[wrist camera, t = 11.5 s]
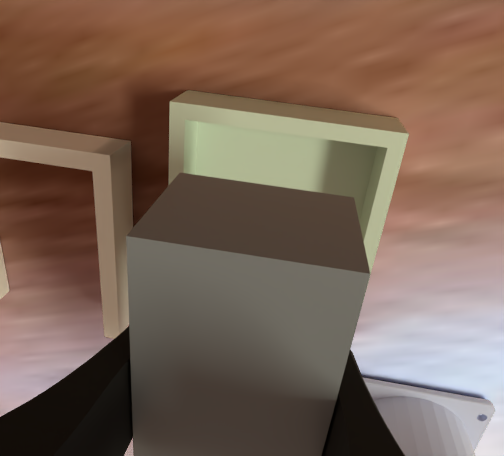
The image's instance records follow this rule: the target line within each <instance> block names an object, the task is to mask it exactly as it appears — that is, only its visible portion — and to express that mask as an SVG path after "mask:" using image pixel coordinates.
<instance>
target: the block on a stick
mask: <svg viewBox="0 0 504 456" xmlns="http://www.w3.org/2000/svg"><path fill="white" fill-rule="evenodd" d="M126 245H127V274H128V304H129V333H130V363H131V392H132V421H133V451H134V456H322V452H323V448H324V444H325V441H326V437H327V433H328V429H329V426H330V422H331V418H332V415H333V411H334V407H335V403H336V400H337V396H338V392H339V389H340V385H341V381H342V377H343V374H344V370H345V366H346V363H347V359H348V355H349V351H350V348H351V344H352V340H353V337H354V333H355V329H356V325H357V322H358V318H359V314H360V311H361V307H362V303H363V299H364V296H365V292H366V288H367V285H368V281H369V277H370V270H369V265H368V260H367V256H366V251H365V246H364V242H363V237H362V232H361V228H360V223H359V218H358V213H357V209H356V204H355V199H354V197H348V196H341V195H334V194H327V193H320V192H313V191H306V190H299V189H292V188H285V187H278V186H271V185H264V184H257V183H250V182H243V181H236V180H229V179H222V178H215V177H208V176H201V175H194V174H187V173H179V174H178V175H177V176H176V178H175V179H174V180H173V181H172V182H171V183H170V185H169V186H168V187H167V188H166V189H165V191H164V192H163V193H162V194H161V195H160V196H159V198H158V199H157V200H156V201H155V202H154V204H153V205H152V206H151V207H150V208H149V210H148V211H147V212H146V213H145V214H144V215H143V217H142V218H141V219H140V220H139V221H138V223H137V224H136V225H135V226H134V227H133V229H132V230H131V231H130V232H129V233H128V234H127V236H126Z"/></svg>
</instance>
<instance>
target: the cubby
mask: <svg viewBox="0 0 504 456" xmlns="http://www.w3.org/2000/svg"><path fill="white" fill-rule="evenodd" d="M0 157H1V158H8V159H15V160H21V161H28V162H35V163H41V164H48V165H55V166H61V167H68V168H75V169H81V170H88V171H92V172H93V186H94V200H95V214H96V228H97V242H98V256H99V270H100V284H101V298H102V312H103V326H104V337H108V338H113V339H115V338H116V337H117V336H118V335H119V334H121V333H122V332H123V331H124V330H125V329H126V328H127V326H128V324H129V304H128V274H127V245H126V236H127V234H128V233H129V232H130V231H131V230H132V229H133V203H132V166H131V141H129V140H122V139H115V138H108V137H101V136H94V135H87V134H80V133H73V132H66V131H59V130H52V129H45V128H38V127H31V126H24V125H17V124H10V123H3V122H0ZM9 291H10V290H9V284H8V279H7V274H6V269H5V263H4V258H3V253H2V248H1V243H0V299H1V298H2V297H4V296H5V295H6V294H7V293H8V292H9Z"/></svg>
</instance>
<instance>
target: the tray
mask: <svg viewBox="0 0 504 456" xmlns="http://www.w3.org/2000/svg"><path fill="white" fill-rule="evenodd" d="M408 135H409V133H408V132H407V130H406V129H405V128H404V126H403V125H402V123H401V122H400V121H399V119H398V118H394V117H387V116H379V115H372V114H364V113H357V112H349V111H342V110H334V109H327V108H319V107H312V106H304V105H297V104H289V103H282V102H274V101H267V100H259V99H252V98H244V97H237V96H229V95H222V94H214V93H207V92H199V91H192V90H187V91H185V92H184V93H182V94H181V95H179V96H177V97H176V98H174V99H173V100H171V101H170V111H169V180H168V186H169V185H170V183H171V182H172V181H173V180H174V179H175V178H176V176H177V175H178V174H179V173H187V174H194V175H201V176H208V177H215V178H222V179H229V180H236V181H243V182H250V183H257V184H264V185H271V186H278V187H285V188H292V189H299V190H306V191H313V192H320V193H327V194H334V195H341V196H348V197H354V199H355V204H356V209H357V213H358V218H359V223H360V228H361V232H362V237H363V242H364V246H365V251H366V256H367V260H368V265H369V270H370V274H371V270H372V267H373V263H374V259H375V256H376V252H377V248H378V245H379V241H380V238H381V234H382V230H383V227H384V223H385V219H386V216H387V212H388V208H389V205H390V201H391V197H392V194H393V190H394V186H395V183H396V179H397V176H398V172H399V168H400V165H401V161H402V157H403V154H404V150H405V146H406V143H407V139H408ZM369 278H370V277H369ZM366 289H367V288H366ZM363 300H364V299H363Z"/></svg>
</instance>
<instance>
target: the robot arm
mask: <svg viewBox="0 0 504 456" xmlns="http://www.w3.org/2000/svg"><path fill="white" fill-rule="evenodd" d="M494 413H495V408H494V406H493V403H492V402H491V401H489V400H486V399H480V398H475V397H469V396H463V395H458V394H452V393H447V392H441V391H436V390H430V389H424V388H419V387H413V386H408V385H402V384H397V383H391V382H385V381H380V380H374V379H369V378H363V377H362V375H361V373H360V370H359V368H358V365H357V363H356V360H355V358H354V355H353V353H352V351H351V350H350V351H349V355H348V359H347V363H346V366H345V370H344V374H343V377H342V381H341V385H340V389H339V392H338V396H337V400H336V403H335V407H334V411H333V415H332V418H331V422H330V426H329V429H328V433H327V437H326V441H325V444H324V448H323V452H322V456H475V453H474V451H475V449H476V447H477V445H478V443H479V441H480V439H481V437H482V436H483V434H484V432H485V430H486V428H487V426H488V424H489V422H490V420H491V418H492V416H493V415H494ZM481 414H482V415H481ZM132 437H133V421H132V392H131V363H130V333H129V326H128V327H127V328H126V329H125V330H124V331H123V332H122V333H121V334H119V335H118V336H117V337H116V338H115V339H114V340H112V341H111V342H110V343H109V344H108V345H106V346H105V347H104V348H103V349H102V350H100V351H99V352H98V353H97V354H96V355H94V356H93V357H92V358H91V359H89V360H88V361H87V362H85V363H84V364H83V365H81V366H80V367H79V368H77V369H76V370H75V371H73V372H72V373H71V374H69V375H68V376H66V377H65V378H64V379H62V380H61V381H59V382H58V383H56V384H55V385H53V386H52V387H50V388H49V389H47V390H46V391H44V392H43V393H41V394H39V395H38V396H36V397H35V398H33V399H31V400H30V401H28V402H26V403H24V404H23V405H21V406H19V407H17V408H16V409H14V410H12V411H10V412H8V413H6V414H5V415H3V416H1V417H0V456H124V454H125V452H126V450H127V448H128V446H129V444H130V442H131V440H132Z"/></svg>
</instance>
